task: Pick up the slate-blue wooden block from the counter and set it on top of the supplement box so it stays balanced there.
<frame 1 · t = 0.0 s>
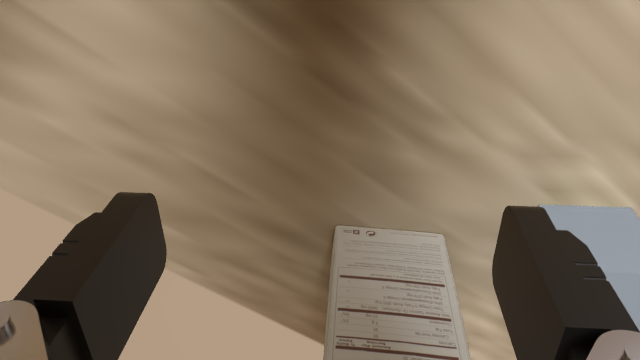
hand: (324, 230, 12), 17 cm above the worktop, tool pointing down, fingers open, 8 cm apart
supplement box: (383, 265, 35), on the worktop
blue block: (572, 240, 33), on the worktop
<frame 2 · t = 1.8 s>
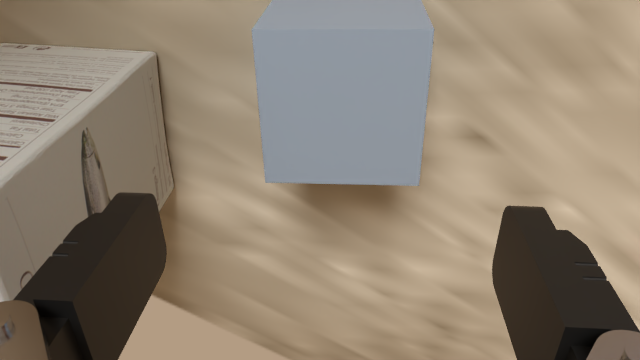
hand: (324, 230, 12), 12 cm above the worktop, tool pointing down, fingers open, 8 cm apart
supplement box: (96, 115, 24), on the worktop
blue block: (346, 56, 22), on the worktop
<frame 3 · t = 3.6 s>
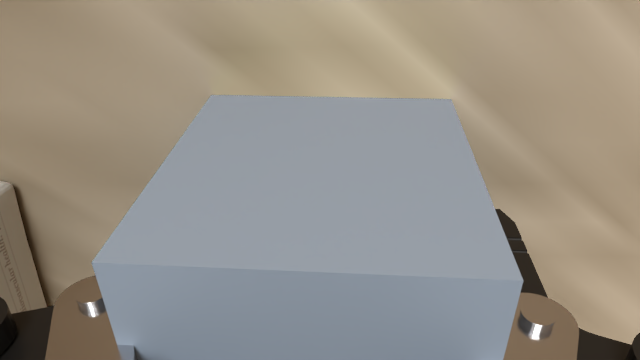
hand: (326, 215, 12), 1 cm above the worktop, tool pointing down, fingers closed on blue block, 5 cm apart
blue block: (329, 198, 13), on the worktop, touching gripper
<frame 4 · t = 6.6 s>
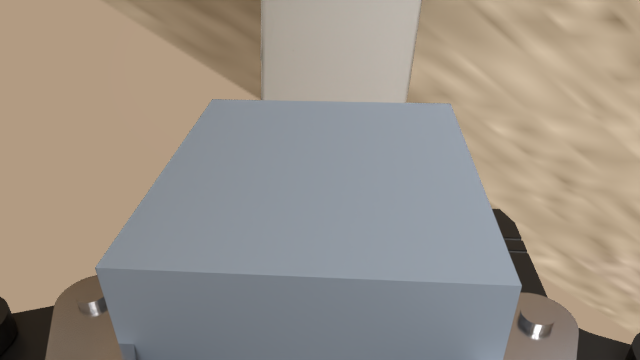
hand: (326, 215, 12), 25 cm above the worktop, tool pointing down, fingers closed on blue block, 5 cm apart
supplement box: (344, 2, 34), on the worktop
blue block: (329, 201, 13), point 25 cm above the worktop, touching gripper
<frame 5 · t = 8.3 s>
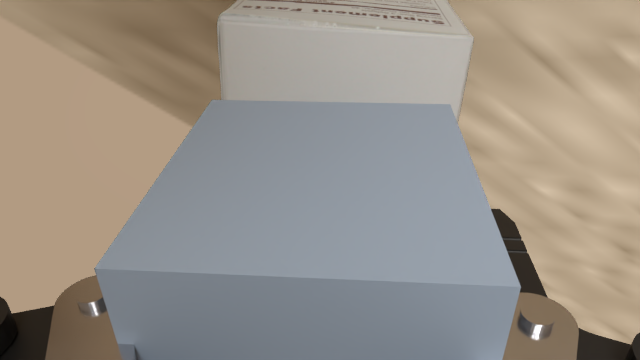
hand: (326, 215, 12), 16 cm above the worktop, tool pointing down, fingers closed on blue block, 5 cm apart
supplement box: (347, 35, 26), on the worktop
blue block: (329, 201, 13), point 15 cm above the worktop, touching gripper
when the fingers open (15 cm above the worktop, at t = 9.8 s): blue block drops 2 cm, resting on supplement box.
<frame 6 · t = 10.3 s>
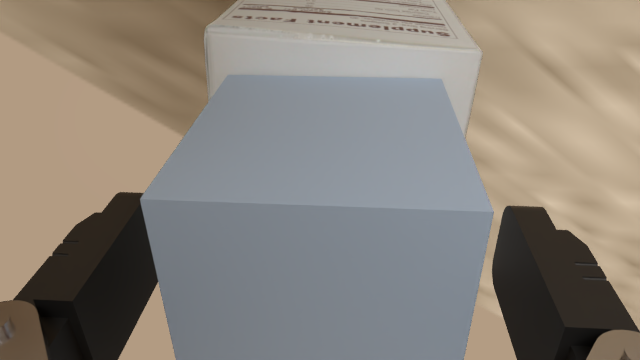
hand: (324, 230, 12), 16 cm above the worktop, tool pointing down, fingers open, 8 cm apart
supplement box: (345, 43, 25), on the worktop, touching blue block
blue block: (332, 169, 14), point 13 cm above the worktop, touching supplement box
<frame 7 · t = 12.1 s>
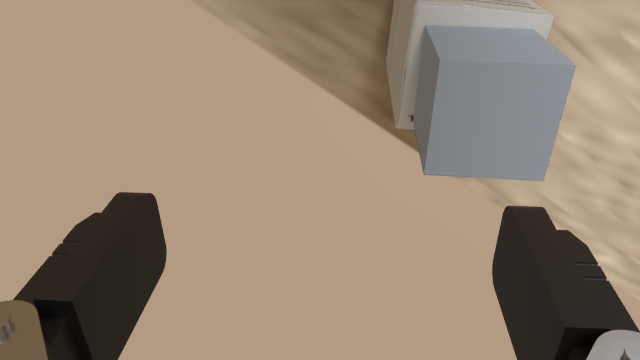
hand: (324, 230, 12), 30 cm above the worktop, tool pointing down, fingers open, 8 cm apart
supplement box: (438, 22, 38), on the worktop, touching blue block
blue block: (469, 78, 27), point 13 cm above the worktop, touching supplement box
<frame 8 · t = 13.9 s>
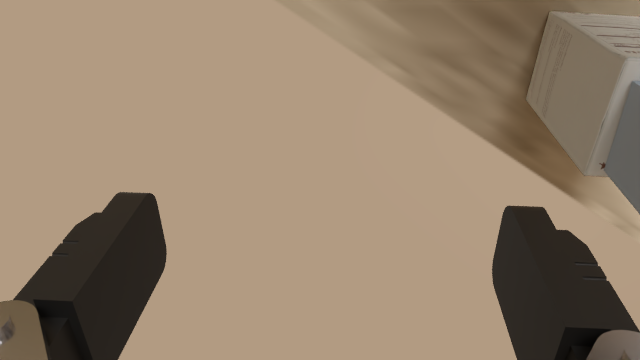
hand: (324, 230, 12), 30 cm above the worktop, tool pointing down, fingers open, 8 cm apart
supplement box: (582, 58, 39), on the worktop, touching blue block
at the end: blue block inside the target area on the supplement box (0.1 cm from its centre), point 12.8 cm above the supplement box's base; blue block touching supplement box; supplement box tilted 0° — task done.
